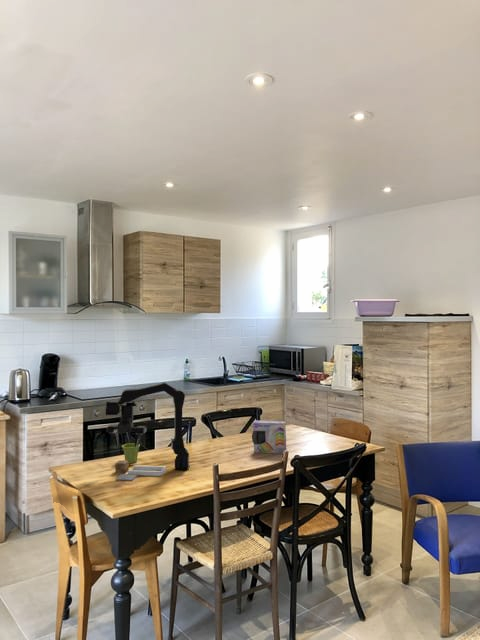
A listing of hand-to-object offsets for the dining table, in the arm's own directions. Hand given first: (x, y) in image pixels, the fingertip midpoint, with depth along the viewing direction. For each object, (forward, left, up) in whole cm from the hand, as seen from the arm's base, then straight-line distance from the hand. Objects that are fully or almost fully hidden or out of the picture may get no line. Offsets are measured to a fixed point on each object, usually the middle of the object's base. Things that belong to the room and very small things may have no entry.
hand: (126, 446), depth 256 cm
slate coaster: (-3, +9, -13) cm, 16 cm away
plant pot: (+4, -19, -13) cm, 23 cm away
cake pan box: (-68, -45, -13) cm, 83 cm away
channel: (-10, 0, -13) cm, 16 cm away
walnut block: (+2, 0, -13) cm, 13 cm away
